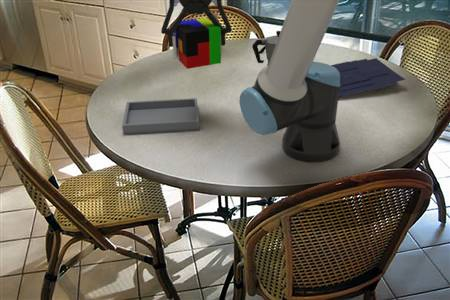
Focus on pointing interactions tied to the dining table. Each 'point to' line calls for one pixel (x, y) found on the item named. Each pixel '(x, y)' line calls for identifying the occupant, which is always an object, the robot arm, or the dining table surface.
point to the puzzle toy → (198, 43)
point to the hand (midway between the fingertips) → (197, 56)
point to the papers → (364, 76)
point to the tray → (161, 116)
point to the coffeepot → (269, 45)
